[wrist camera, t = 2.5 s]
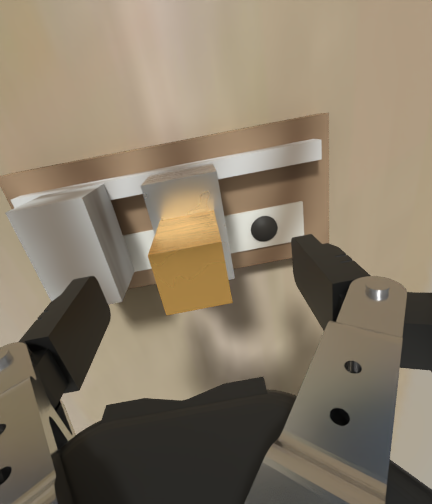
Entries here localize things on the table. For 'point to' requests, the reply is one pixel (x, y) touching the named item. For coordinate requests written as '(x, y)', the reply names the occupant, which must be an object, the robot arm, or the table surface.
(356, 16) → the table surface
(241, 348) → the table surface
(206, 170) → the block
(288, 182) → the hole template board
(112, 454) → the robot arm
